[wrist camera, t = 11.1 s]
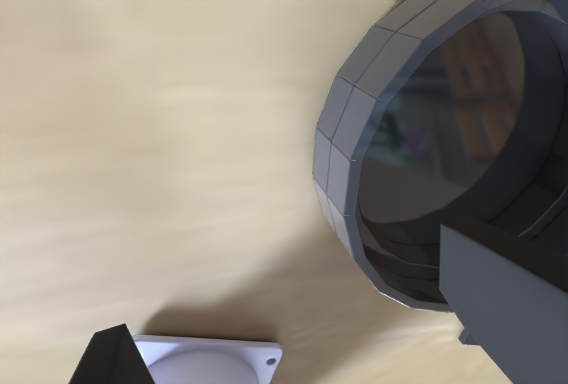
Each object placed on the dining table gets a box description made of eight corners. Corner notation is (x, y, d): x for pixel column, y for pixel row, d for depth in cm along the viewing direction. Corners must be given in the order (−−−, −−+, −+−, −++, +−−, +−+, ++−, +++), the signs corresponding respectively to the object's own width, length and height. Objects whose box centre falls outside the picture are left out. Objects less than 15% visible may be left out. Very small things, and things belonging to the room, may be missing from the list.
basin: (485, 274, 26) (537, 322, 22) (267, 240, 20) (290, 296, 17) (634, 37, 21) (730, 52, 17) (395, -93, 15) (466, -108, 12)
